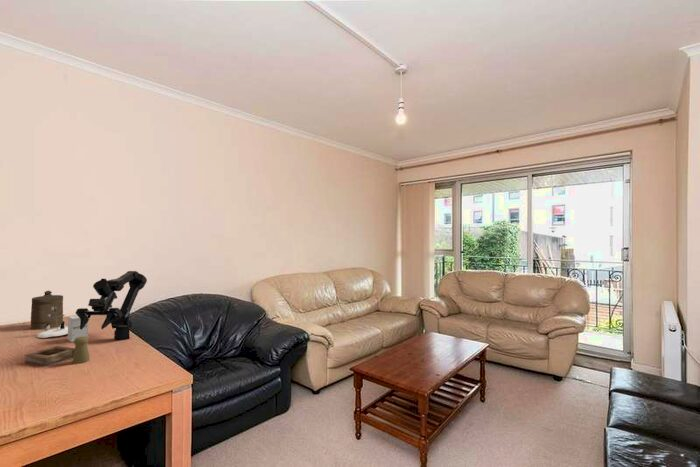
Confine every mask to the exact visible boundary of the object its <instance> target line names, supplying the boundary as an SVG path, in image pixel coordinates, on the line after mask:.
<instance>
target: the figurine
mask: <svg viewBox="0 0 700 467" xmlns="http://www.w3.org/2000/svg"><path fill="white" fill-rule="evenodd" d="M51 310H54V311H55V313H53V312H51V313H52V314H54V315H55V318H57V317H56V312H57V311H56V307H51ZM47 316H48V317H47V319H49V318H50V317H51V315H47ZM65 316H66V314H63V316H62V317H63V318H64V317H65ZM60 317H61V316H60ZM51 318H54V317H51ZM56 325H57V320H56ZM64 335H68V325H66V323H65V321H64V320H63V322H62V324H61V326H57V327H55V328H53V329H52V328H50V324H49V323H47V325H46V326H45V329H43V330H42V331H40V332H38V333H37V334H36V338H39V339H40V338H42V339H46V338H51V337H59V336H60V337H61V336H64Z"/></svg>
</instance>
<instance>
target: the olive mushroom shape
mask: <svg viewBox="0 0 700 467" xmlns="http://www.w3.org/2000/svg"><path fill="white" fill-rule="evenodd" d="M89 340H90V338H89V336H88V337H86V336H82V337H78V338H76V339H75V340H74V342H73V344H74V345H75V347H74V348H75V351H74V357H73V358H72V364H74V365H80V364H85V363H88V362H89V361H90V353H89V348H88V343H89Z"/></svg>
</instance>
